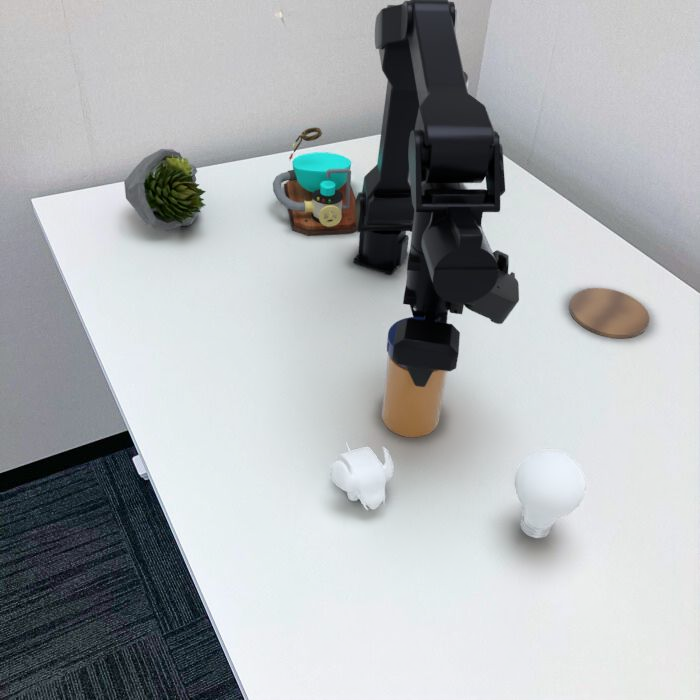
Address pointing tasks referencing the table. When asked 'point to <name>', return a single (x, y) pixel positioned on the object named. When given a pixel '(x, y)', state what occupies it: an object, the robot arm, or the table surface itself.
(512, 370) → the table surface
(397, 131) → the robot arm
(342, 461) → the elephant figurine
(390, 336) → the jar lid
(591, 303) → the coaster
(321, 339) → the table surface
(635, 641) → the table surface
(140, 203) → the potted plant
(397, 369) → the jar
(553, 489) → the light bulb
